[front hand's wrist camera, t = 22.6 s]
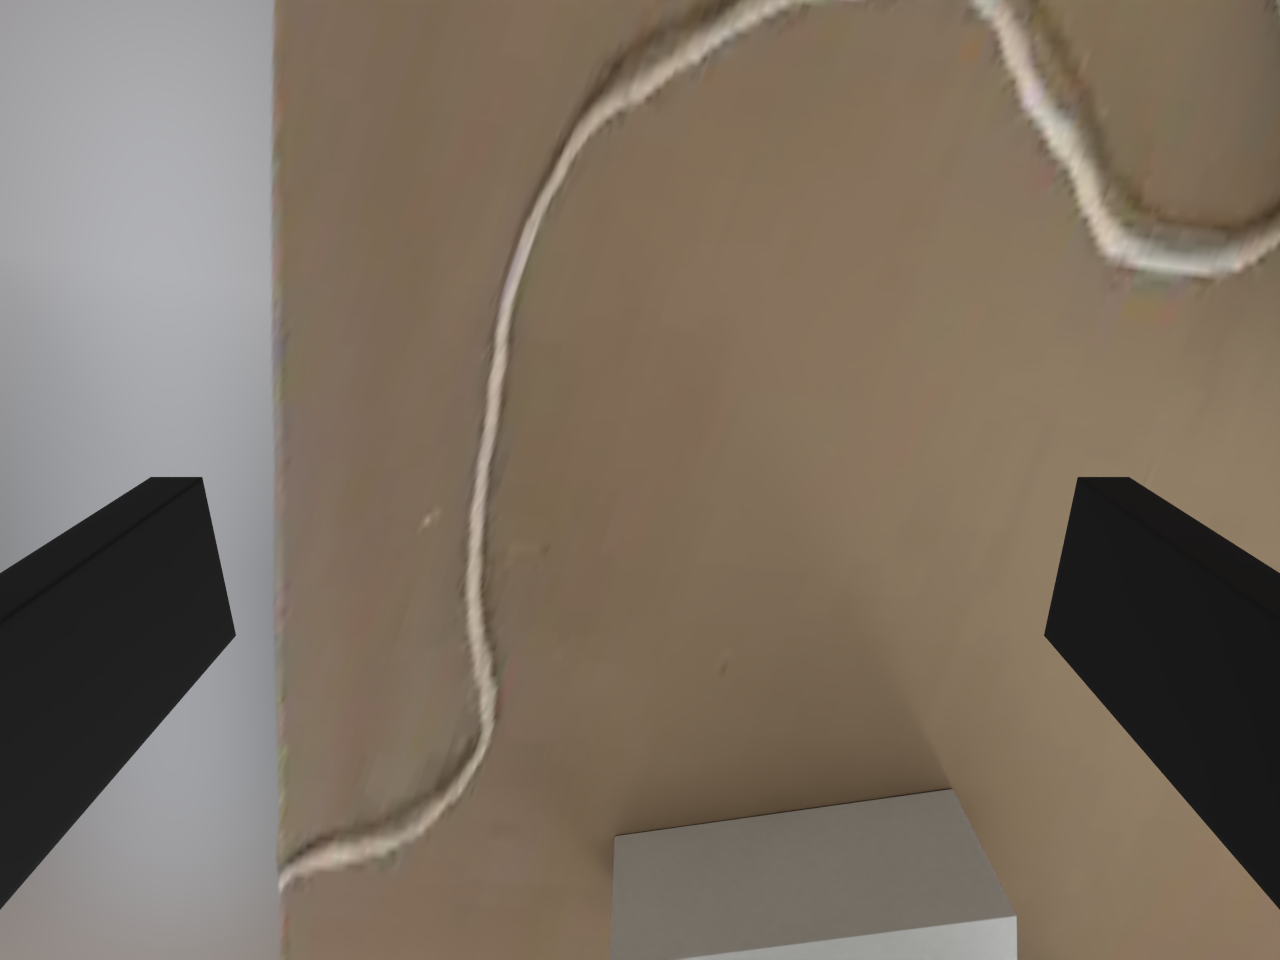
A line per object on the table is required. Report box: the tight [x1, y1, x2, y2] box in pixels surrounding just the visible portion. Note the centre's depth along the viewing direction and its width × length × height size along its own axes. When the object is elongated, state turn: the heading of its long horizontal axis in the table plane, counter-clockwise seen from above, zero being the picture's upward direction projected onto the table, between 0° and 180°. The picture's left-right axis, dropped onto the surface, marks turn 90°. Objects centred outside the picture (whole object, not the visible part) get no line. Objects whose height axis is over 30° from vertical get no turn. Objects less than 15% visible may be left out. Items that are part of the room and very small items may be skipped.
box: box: [610, 789, 1017, 960], centre depth 52 cm, size 24×6×10 cm, turn 100°
